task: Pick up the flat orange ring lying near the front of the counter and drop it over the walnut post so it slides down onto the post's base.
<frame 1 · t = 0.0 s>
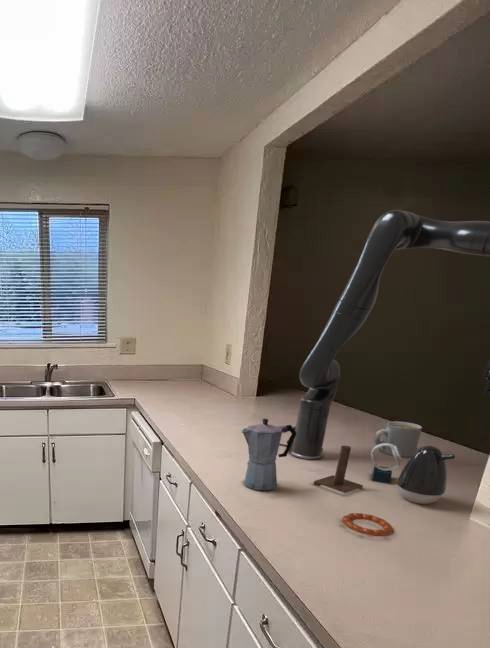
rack: (337, 486, 125), on the countertop
coffee mug: (391, 452, 154), on the countertop
moka pot: (260, 485, 127), on the countertop
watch: (380, 479, 131), on the countertop
ring: (366, 525, 102), point 1 cm above the countertop
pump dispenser: (417, 500, 117), on the countertop
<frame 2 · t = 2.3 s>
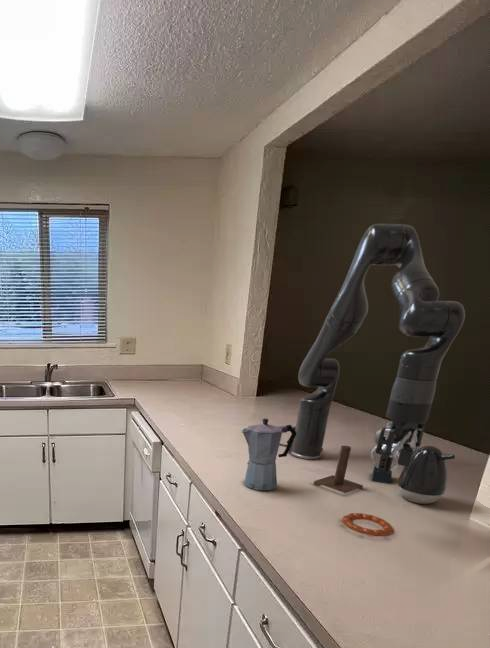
hand: (393, 468, 99), 14 cm above the countertop, tool pointing down, fingers open, 8 cm apart
nothing on the countertop moved.
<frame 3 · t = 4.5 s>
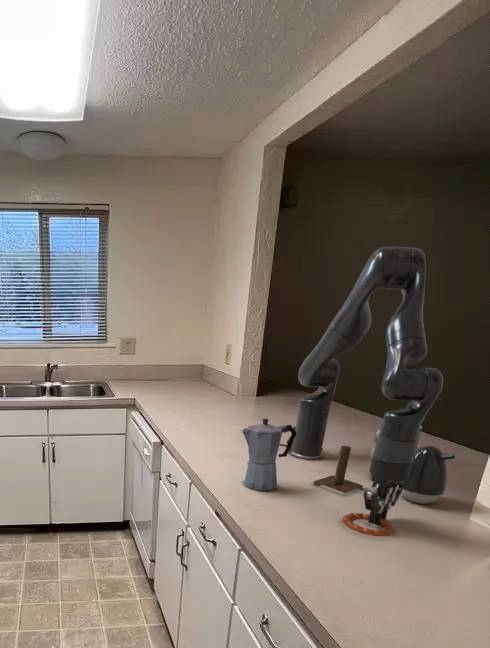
hand: (375, 524, 104), 0 cm above the countertop, tool pointing down, fingers closed on ring, 2 cm apart
ring: (367, 525, 102), point 1 cm above the countertop, touching gripper
everything else where it was.
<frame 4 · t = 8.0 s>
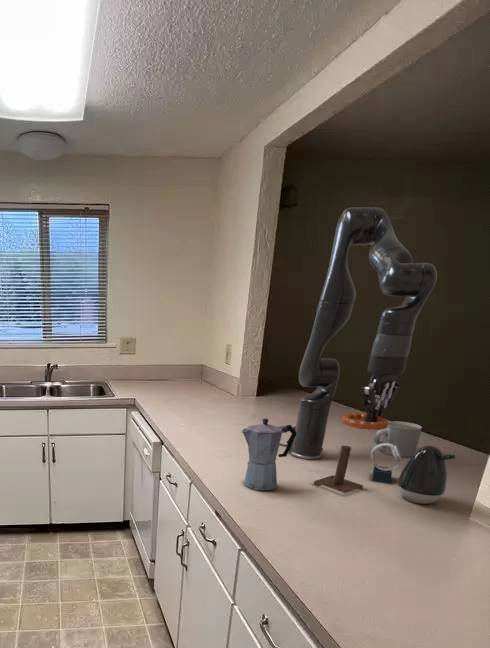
hand: (372, 422, 111), 21 cm above the countertop, tool pointing down, fingers closed on ring
ring: (364, 421, 109), point 22 cm above the countertop, touching gripper
everything else where it was.
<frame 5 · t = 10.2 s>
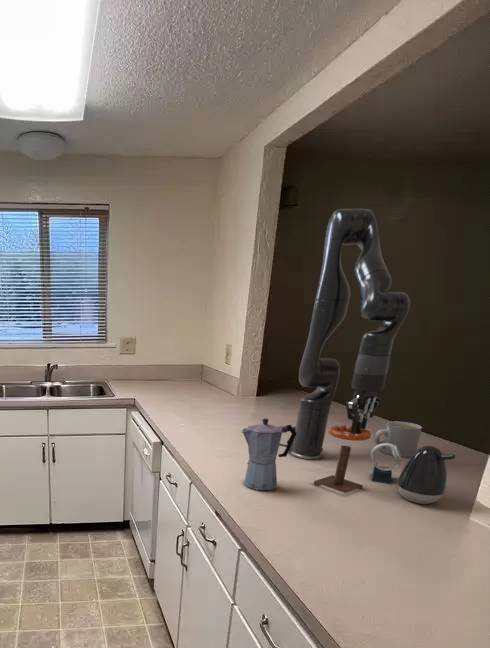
hand: (357, 433, 122), 15 cm above the countertop, tool pointing down, fingers closed on ring
ring: (349, 432, 120), point 16 cm above the countertop, touching gripper
everything else where it was.
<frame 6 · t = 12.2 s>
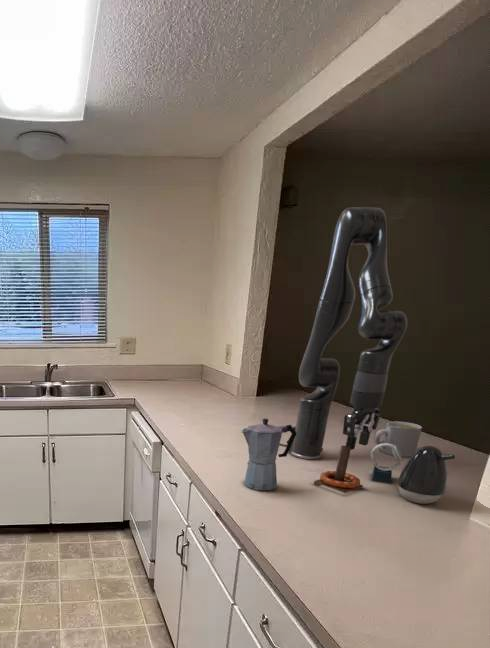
hand: (356, 446, 124), 11 cm above the countertop, tool pointing down, fingers open, 5 cm apart
ring: (339, 479, 125), point 2 cm above the countertop, touching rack
everything else where it was.
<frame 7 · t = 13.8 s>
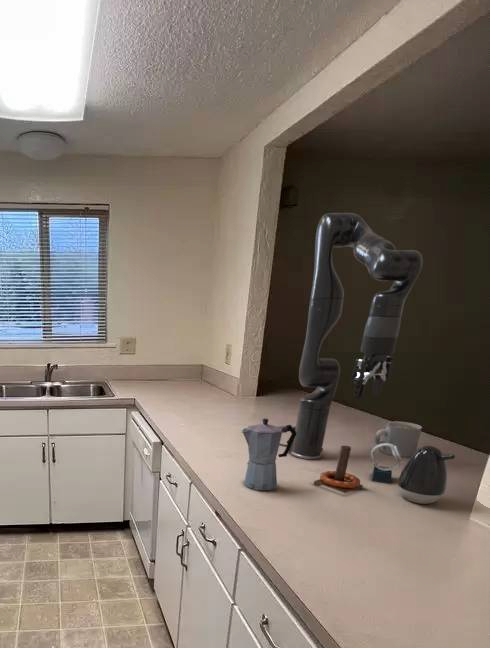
hand: (366, 396, 118), 26 cm above the countertop, tool pointing down, fingers open, 8 cm apart
nothing on the countertop moved.
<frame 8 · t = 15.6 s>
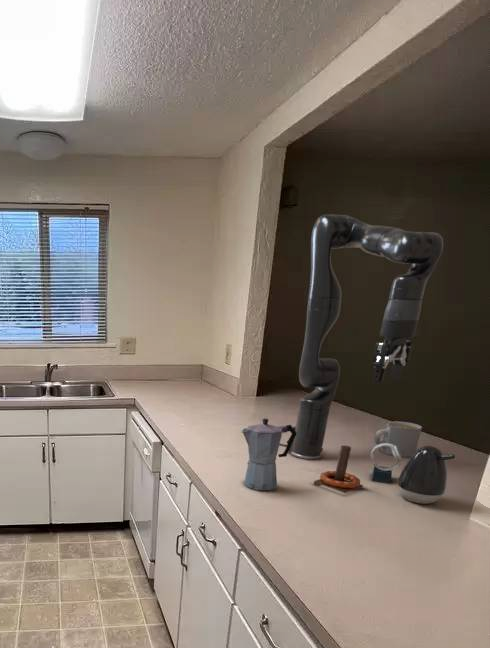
hand: (386, 381, 117), 30 cm above the countertop, tool pointing down, fingers open, 8 cm apart
nothing on the countertop moved.
at the end: ring 0.8 cm off-centre on the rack, point 2.1 cm above the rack's base; the gripper is holding nothing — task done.
